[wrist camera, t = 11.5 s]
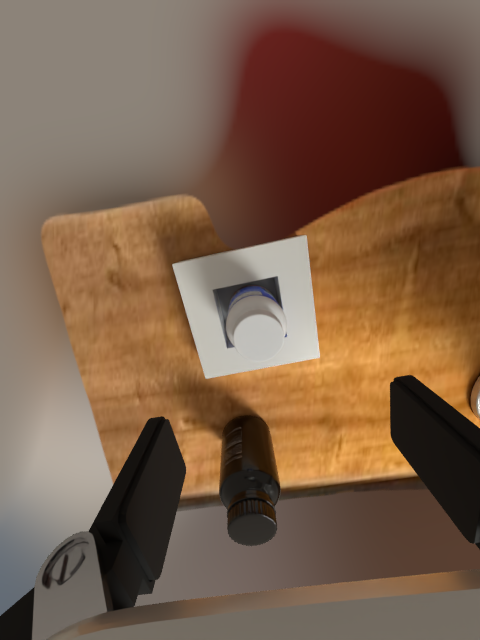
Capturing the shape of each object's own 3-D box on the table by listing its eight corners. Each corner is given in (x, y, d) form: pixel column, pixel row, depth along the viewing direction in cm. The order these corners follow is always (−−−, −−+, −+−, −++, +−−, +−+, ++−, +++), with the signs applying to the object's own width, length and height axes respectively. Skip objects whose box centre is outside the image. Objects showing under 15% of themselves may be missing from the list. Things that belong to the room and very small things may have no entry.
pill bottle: (281, 320, 28) (304, 357, 18) (238, 335, 28) (239, 379, 19) (266, 276, 26) (282, 293, 17) (221, 293, 27) (213, 319, 17)
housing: (297, 235, 25) (306, 235, 22) (310, 344, 29) (319, 357, 26) (180, 261, 26) (172, 264, 23) (209, 363, 30) (205, 379, 27)
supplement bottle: (226, 453, 35) (220, 556, 24) (219, 416, 33) (209, 509, 21) (272, 449, 35) (289, 550, 23) (268, 411, 33) (285, 502, 21)
